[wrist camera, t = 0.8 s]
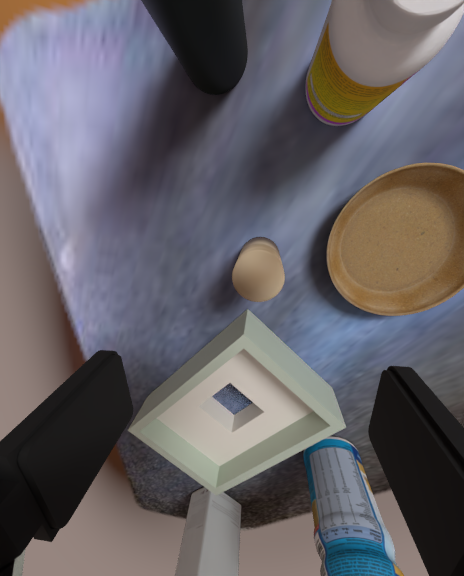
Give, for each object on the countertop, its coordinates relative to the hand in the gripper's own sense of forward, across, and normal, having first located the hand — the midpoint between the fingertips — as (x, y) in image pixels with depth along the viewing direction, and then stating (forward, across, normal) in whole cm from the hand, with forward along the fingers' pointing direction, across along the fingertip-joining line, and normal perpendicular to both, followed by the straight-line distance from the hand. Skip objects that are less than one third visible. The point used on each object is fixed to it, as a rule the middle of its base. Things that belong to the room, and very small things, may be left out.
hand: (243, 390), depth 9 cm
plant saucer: (+21, -14, -2) cm, 25 cm away
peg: (+20, 0, 0) cm, 20 cm away
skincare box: (+21, +7, +46) cm, 51 cm away
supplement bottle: (+21, -7, -16) cm, 27 cm away
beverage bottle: (+20, -11, +31) cm, 39 cm away
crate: (+20, +3, +20) cm, 29 cm away
